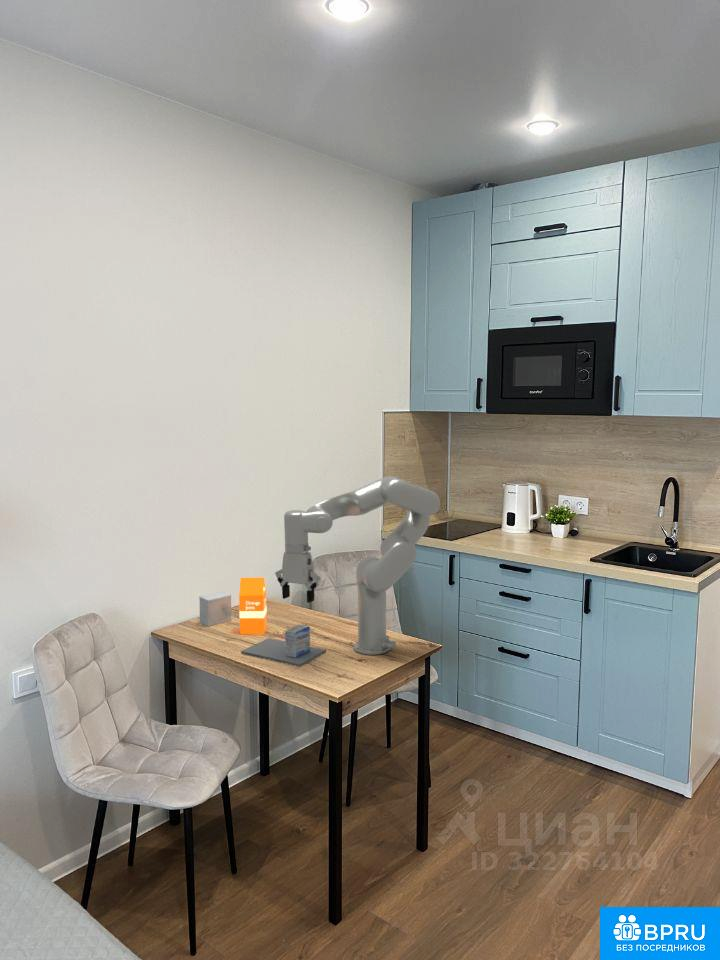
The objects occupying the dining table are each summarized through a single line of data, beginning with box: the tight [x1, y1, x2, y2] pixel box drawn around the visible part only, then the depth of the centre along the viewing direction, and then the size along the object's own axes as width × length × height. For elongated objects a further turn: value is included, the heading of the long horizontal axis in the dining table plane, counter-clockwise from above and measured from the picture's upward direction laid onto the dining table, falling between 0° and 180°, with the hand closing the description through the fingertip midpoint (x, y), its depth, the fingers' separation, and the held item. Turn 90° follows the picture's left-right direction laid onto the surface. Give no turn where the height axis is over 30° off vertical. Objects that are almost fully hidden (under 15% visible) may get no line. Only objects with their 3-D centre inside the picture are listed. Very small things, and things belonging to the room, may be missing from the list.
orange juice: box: [238, 577, 268, 635], centre depth 263 cm, size 8×9×20 cm
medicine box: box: [284, 624, 311, 658], centre depth 238 cm, size 8×4×9 cm, turn 147°
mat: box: [240, 637, 326, 667], centre depth 241 cm, size 24×15×1 cm, turn 60°
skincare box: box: [198, 591, 232, 627], centre depth 274 cm, size 10×6×10 cm, turn 133°
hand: (298, 599), depth 236 cm, fingers open, 9 cm apart
